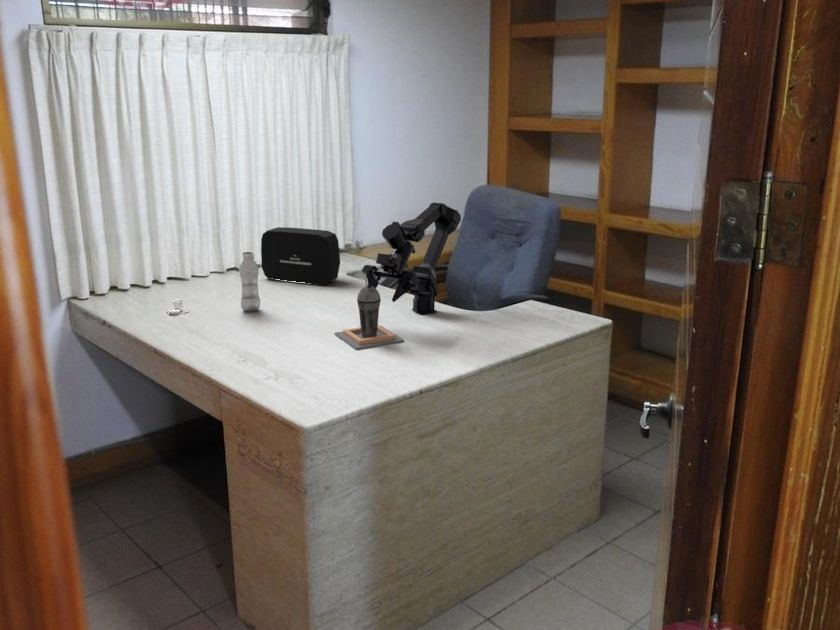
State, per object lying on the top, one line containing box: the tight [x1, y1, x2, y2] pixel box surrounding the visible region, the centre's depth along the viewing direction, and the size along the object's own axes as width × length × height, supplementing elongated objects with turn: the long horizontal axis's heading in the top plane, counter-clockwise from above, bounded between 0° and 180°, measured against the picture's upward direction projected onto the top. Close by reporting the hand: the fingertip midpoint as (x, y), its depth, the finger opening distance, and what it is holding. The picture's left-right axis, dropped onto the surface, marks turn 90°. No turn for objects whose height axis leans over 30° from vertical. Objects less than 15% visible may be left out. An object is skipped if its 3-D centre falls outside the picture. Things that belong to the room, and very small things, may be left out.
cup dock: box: [334, 324, 405, 351], centre depth 237 cm, size 16×16×2 cm
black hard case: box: [260, 226, 341, 286], centre depth 303 cm, size 30×12×20 cm, turn 69°
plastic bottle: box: [238, 251, 261, 312], centre depth 262 cm, size 6×7×20 cm
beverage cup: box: [356, 273, 382, 338], centre depth 235 cm, size 7×7×20 cm
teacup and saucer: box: [168, 298, 184, 315], centre depth 263 cm, size 9×8×4 cm
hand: (380, 299), depth 240 cm, fingers open, 9 cm apart
